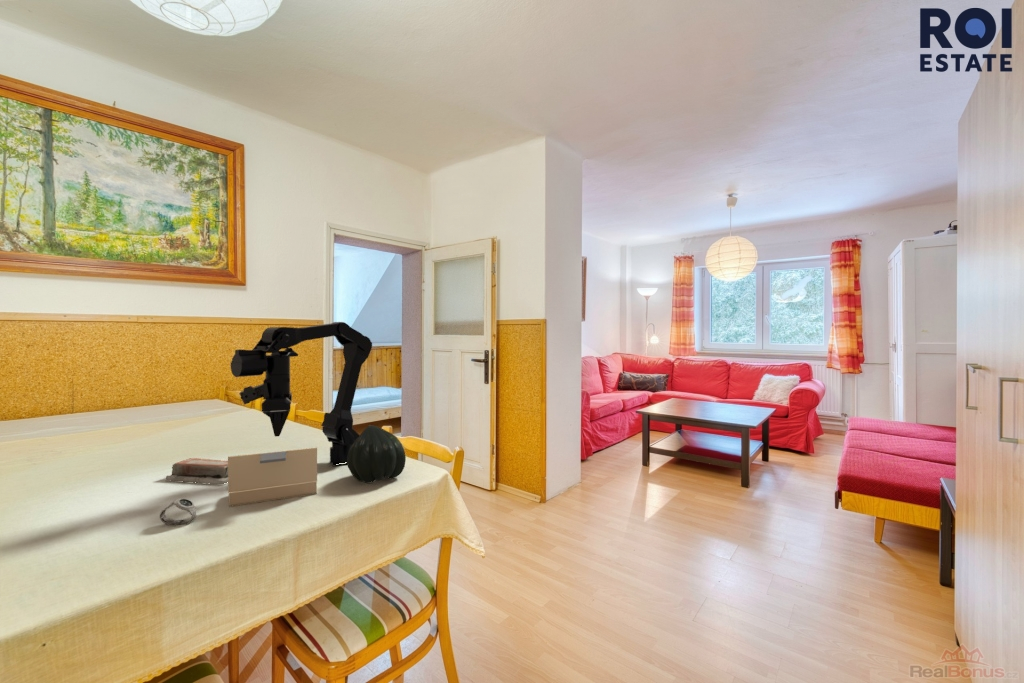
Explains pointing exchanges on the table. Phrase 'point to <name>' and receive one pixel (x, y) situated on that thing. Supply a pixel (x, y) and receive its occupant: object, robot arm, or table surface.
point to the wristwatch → (181, 504)
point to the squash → (376, 455)
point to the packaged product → (200, 471)
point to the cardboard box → (272, 493)
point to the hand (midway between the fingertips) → (278, 432)
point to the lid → (271, 469)
